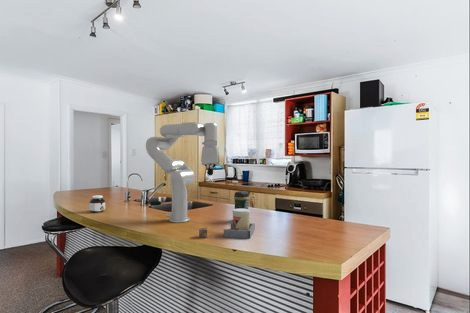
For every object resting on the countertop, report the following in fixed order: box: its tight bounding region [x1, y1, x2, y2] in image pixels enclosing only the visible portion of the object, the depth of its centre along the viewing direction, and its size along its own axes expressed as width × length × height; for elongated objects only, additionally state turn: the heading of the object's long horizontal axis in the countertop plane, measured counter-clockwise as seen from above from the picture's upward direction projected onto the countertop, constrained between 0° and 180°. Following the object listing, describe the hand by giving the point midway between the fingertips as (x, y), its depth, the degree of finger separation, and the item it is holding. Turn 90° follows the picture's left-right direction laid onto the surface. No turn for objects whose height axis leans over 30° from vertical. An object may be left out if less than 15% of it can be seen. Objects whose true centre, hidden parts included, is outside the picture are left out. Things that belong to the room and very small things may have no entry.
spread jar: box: [88, 194, 106, 214], centre depth 202 cm, size 12×11×12 cm
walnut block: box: [198, 227, 208, 239], centre depth 136 cm, size 4×4×4 cm
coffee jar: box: [233, 190, 250, 209], centre depth 172 cm, size 10×8×19 cm
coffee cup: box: [232, 208, 251, 231], centre depth 143 cm, size 9×9×12 cm
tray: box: [223, 221, 256, 239], centre depth 142 cm, size 13×16×4 cm
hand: (210, 175), depth 162 cm, fingers closed
